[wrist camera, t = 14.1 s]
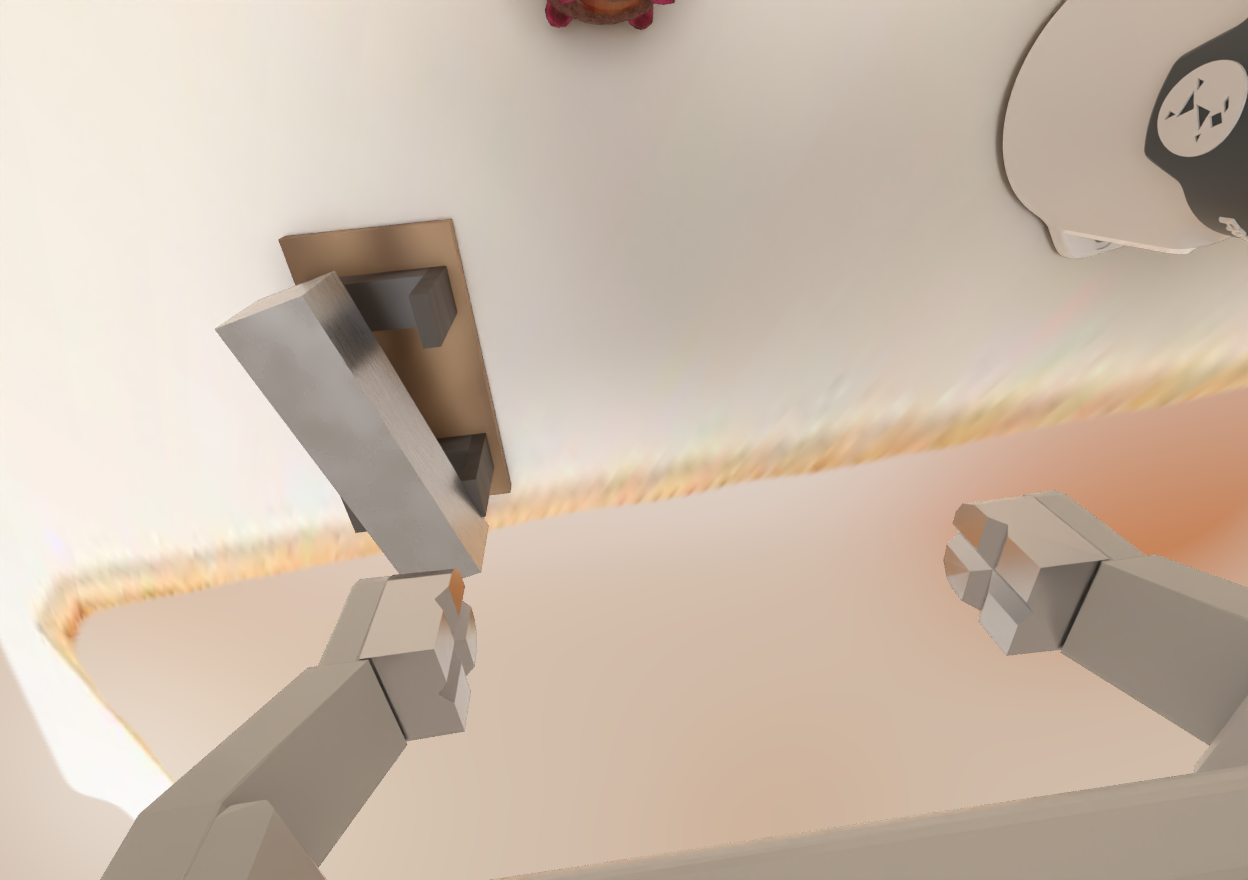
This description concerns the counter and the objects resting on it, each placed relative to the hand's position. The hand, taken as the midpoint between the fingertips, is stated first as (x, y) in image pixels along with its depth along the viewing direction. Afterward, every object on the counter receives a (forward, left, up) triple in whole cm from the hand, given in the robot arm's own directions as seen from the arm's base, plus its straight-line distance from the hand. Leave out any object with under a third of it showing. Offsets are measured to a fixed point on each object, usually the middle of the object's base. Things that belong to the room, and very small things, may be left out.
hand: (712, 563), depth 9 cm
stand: (+14, +9, -31) cm, 35 cm away
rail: (+14, +9, -24) cm, 29 cm away
